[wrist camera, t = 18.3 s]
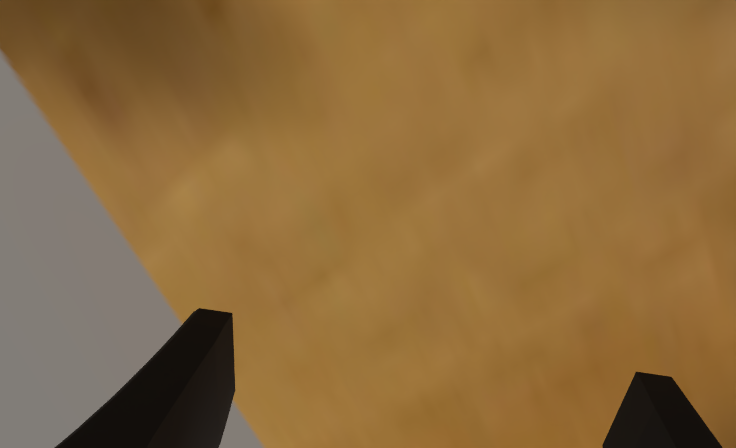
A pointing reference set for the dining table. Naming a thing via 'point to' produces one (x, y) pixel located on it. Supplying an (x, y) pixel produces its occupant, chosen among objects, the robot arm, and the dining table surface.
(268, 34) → the dining table surface
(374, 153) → the dining table surface
